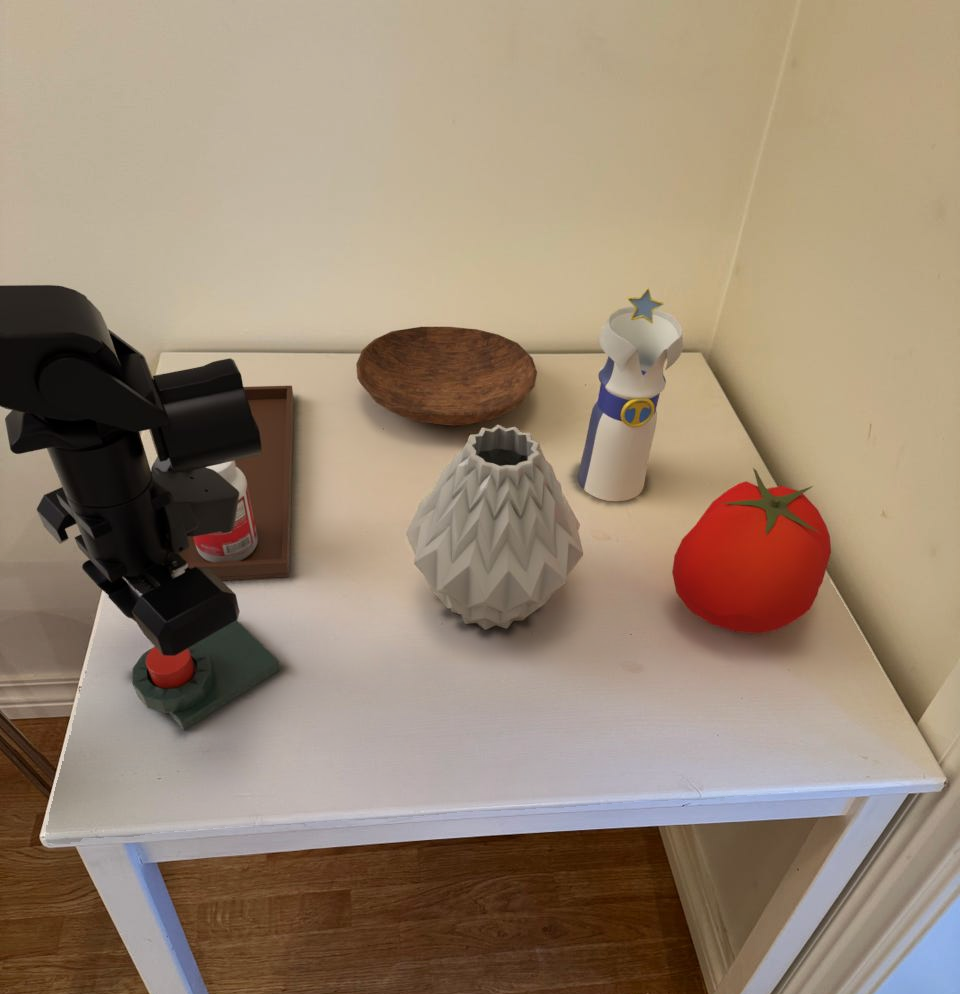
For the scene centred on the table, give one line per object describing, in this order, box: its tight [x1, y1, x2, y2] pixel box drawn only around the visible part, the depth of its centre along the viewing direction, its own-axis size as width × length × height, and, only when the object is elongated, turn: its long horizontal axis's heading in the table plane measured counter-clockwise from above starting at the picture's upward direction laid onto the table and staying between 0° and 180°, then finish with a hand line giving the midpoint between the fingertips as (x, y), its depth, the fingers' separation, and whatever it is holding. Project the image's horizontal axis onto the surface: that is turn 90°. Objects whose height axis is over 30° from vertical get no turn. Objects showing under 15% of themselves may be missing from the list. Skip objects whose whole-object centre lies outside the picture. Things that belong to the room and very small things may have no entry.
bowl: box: [355, 326, 538, 426], centre depth 106 cm, size 20×22×5 cm
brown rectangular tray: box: [178, 385, 295, 581], centre depth 94 cm, size 31×12×2 cm, turn 7°
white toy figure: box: [577, 287, 684, 502], centre depth 89 cm, size 8×9×25 cm
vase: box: [405, 424, 584, 631], centre depth 78 cm, size 16×16×18 cm
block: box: [132, 619, 281, 731], centre depth 76 cm, size 11×8×3 cm
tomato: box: [671, 467, 832, 635], centre depth 81 cm, size 16×14×14 cm
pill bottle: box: [193, 461, 258, 563], centre depth 83 cm, size 6×6×11 cm
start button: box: [146, 646, 195, 689], centre depth 73 cm, size 4×4×2 cm
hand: (160, 632), depth 70 cm, fingers closed
